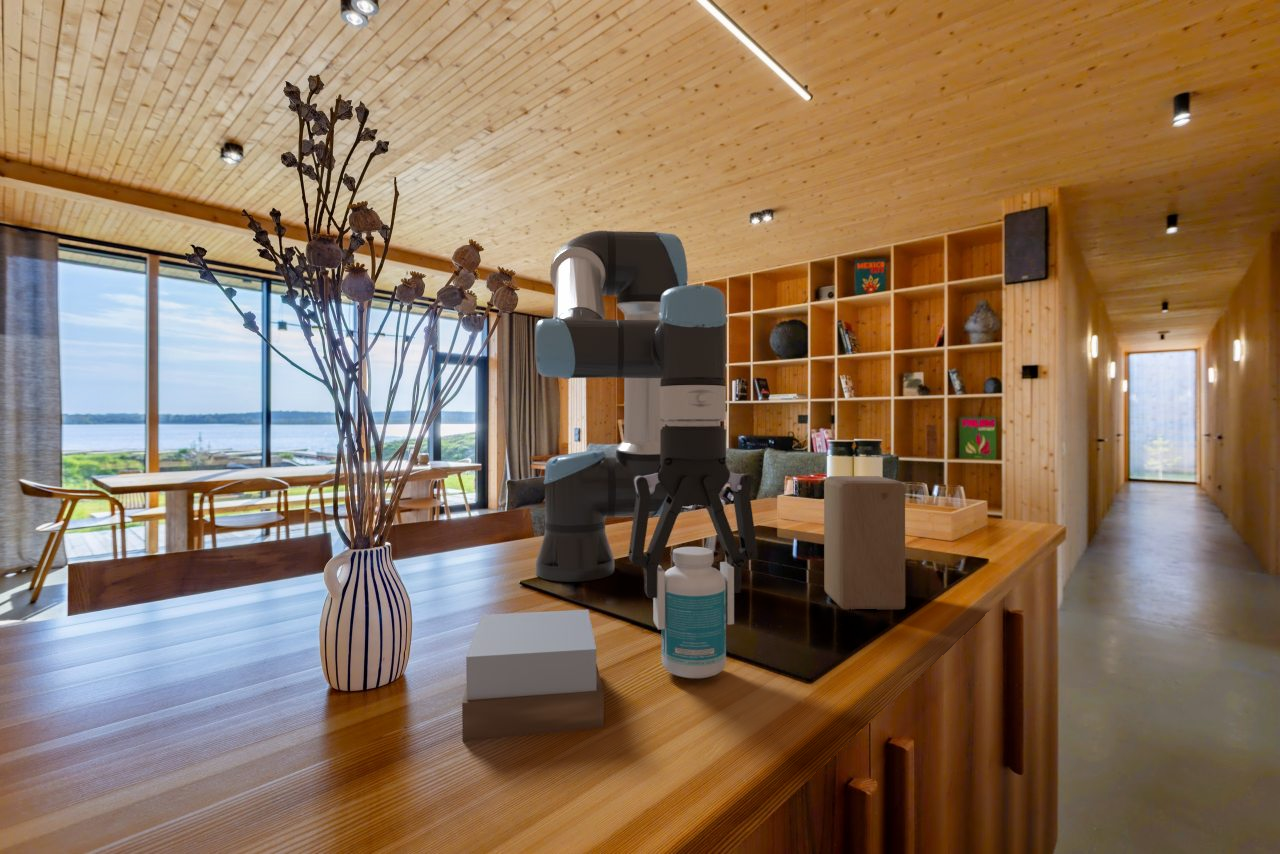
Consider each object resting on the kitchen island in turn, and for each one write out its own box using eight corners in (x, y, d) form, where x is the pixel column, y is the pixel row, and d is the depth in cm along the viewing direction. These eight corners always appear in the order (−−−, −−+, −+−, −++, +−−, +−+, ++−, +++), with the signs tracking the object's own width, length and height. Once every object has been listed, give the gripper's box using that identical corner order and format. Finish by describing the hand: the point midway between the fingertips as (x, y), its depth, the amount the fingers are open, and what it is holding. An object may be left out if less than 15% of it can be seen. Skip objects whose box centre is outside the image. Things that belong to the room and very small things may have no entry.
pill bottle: (739, 672, 66) (739, 553, 66) (684, 687, 63) (684, 561, 62) (700, 649, 73) (700, 541, 73) (649, 661, 69) (649, 547, 69)
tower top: (481, 650, 66) (481, 614, 66) (588, 644, 68) (588, 609, 68) (466, 700, 54) (466, 656, 54) (596, 690, 56) (596, 649, 56)
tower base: (476, 684, 66) (476, 649, 66) (590, 675, 69) (590, 641, 69) (462, 746, 54) (462, 703, 54) (603, 732, 56) (603, 690, 56)
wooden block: (908, 613, 89) (907, 481, 89) (841, 612, 89) (841, 481, 89) (882, 593, 99) (882, 475, 99) (822, 593, 99) (822, 475, 99)
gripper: (609, 425, 62) (610, 641, 62) (790, 424, 65) (789, 628, 66) (601, 424, 69) (602, 617, 69) (763, 423, 73) (763, 606, 73)
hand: (693, 622), depth 68 cm, fingers closed on pill bottle, 7 cm apart
